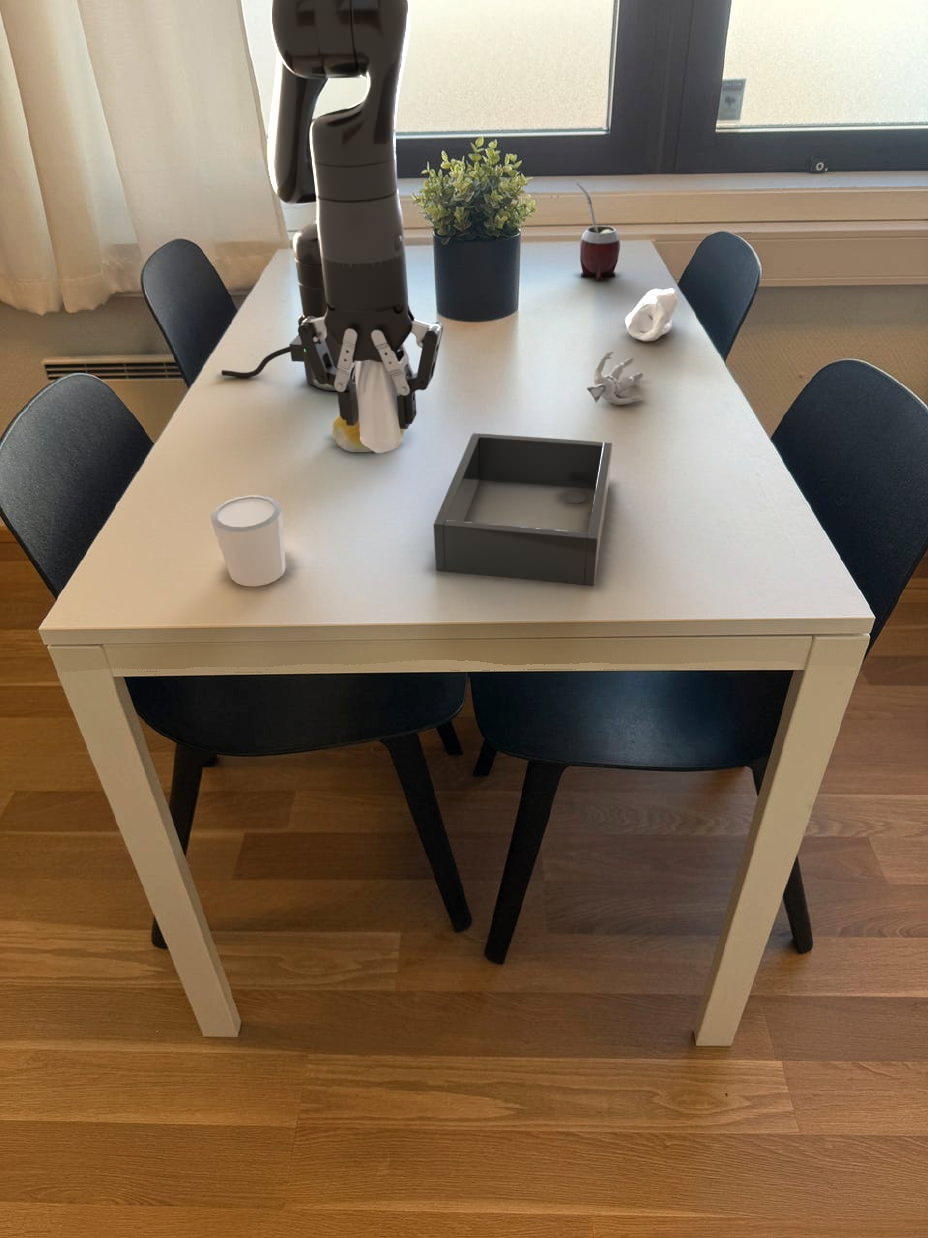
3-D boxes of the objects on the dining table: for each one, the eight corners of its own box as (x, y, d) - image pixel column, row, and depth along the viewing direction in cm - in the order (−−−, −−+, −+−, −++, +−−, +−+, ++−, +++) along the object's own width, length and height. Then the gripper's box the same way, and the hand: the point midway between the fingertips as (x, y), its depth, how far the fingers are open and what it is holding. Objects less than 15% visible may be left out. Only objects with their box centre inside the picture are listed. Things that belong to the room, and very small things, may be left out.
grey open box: (435, 570, 90) (433, 524, 87) (473, 474, 105) (472, 432, 102) (593, 585, 87) (597, 538, 84) (608, 485, 103) (612, 442, 99)
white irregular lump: (650, 314, 147) (685, 276, 141) (666, 367, 141) (704, 329, 135) (609, 297, 143) (643, 256, 137) (625, 350, 137) (661, 310, 131)
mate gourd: (619, 281, 160) (626, 191, 151) (575, 282, 160) (580, 192, 151) (614, 268, 166) (621, 181, 157) (572, 269, 166) (576, 182, 157)
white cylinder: (228, 554, 93) (215, 496, 89) (294, 549, 94) (284, 491, 89) (219, 592, 88) (205, 533, 84) (289, 587, 88) (278, 528, 84)
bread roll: (416, 441, 113) (414, 411, 110) (353, 460, 109) (350, 430, 106) (384, 417, 118) (382, 389, 116) (323, 435, 114) (319, 406, 112)
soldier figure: (655, 392, 125) (636, 399, 114) (627, 412, 127) (606, 421, 117) (625, 346, 124) (603, 348, 114) (597, 367, 127) (573, 371, 116)
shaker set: (403, 461, 89) (399, 354, 82) (362, 464, 88) (354, 356, 82) (394, 409, 98) (390, 309, 91) (356, 411, 98) (349, 311, 91)
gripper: (450, 237, 80) (456, 412, 91) (300, 233, 83) (322, 404, 93) (431, 262, 74) (440, 446, 85) (271, 257, 77) (298, 436, 87)
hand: (378, 423), depth 89 cm, fingers closed on shaker set, 5 cm apart
